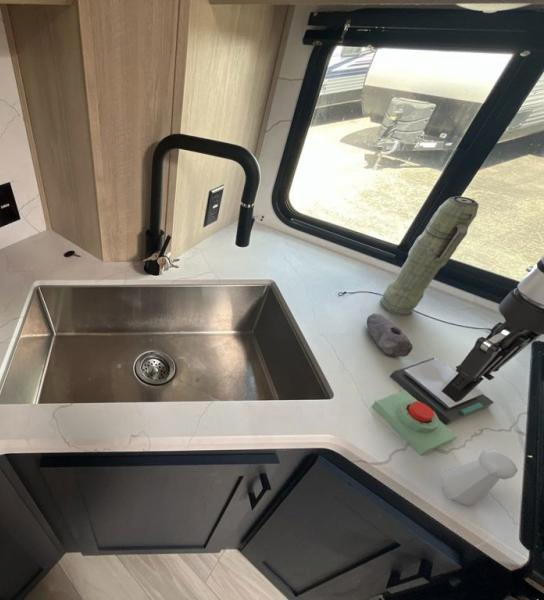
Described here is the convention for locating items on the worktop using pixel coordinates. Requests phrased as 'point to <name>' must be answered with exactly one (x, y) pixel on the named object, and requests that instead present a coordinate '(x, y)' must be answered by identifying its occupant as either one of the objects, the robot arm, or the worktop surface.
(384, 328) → the perforated stone tool
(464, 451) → the worktop surface
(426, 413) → the tare button
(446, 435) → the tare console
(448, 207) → the thermos
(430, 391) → the scale pan
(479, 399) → the scale base
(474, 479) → the salt shaker
